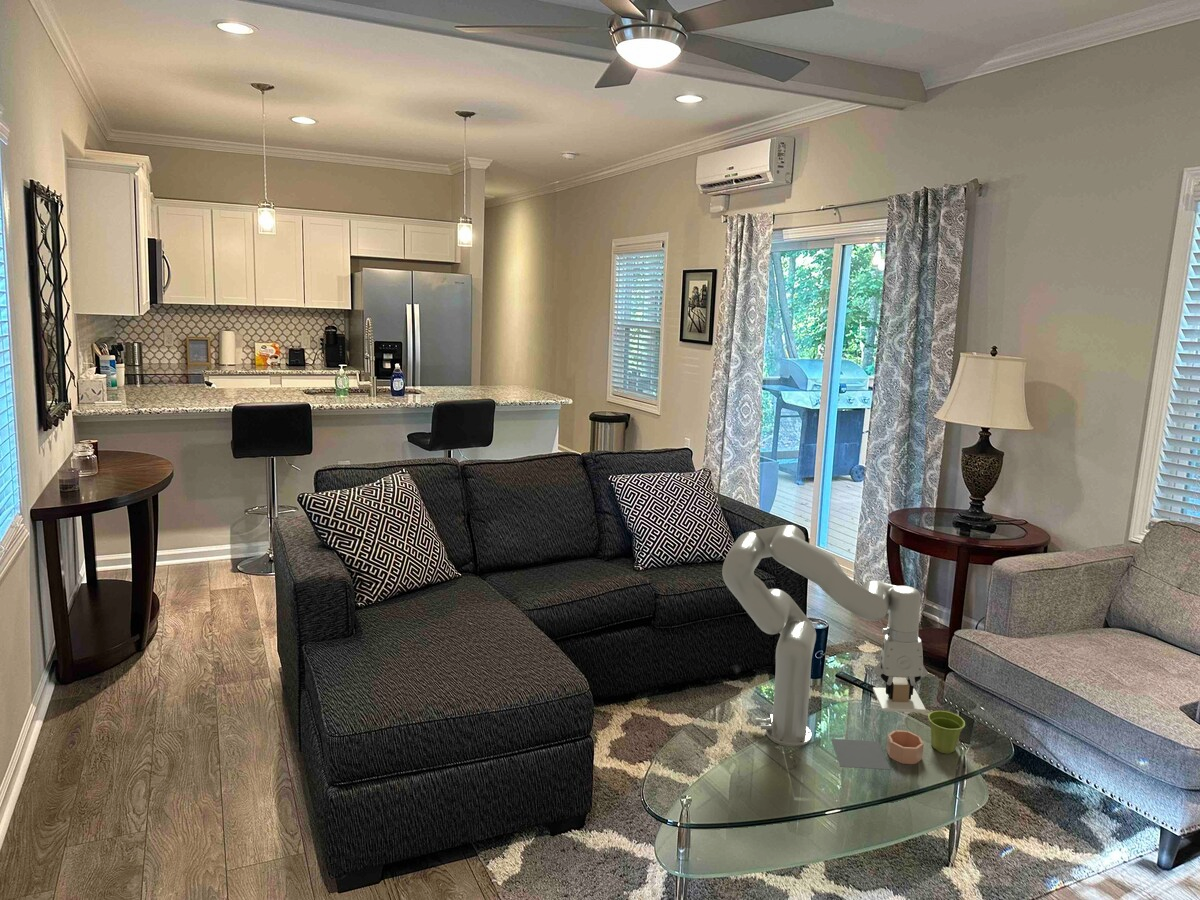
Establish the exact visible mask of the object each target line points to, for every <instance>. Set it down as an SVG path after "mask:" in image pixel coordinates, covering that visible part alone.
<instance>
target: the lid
mask: <svg viewBox="0 0 1200 900" xmlns="http://www.w3.org/2000/svg"><path fill="white" fill-rule="evenodd" d="M907 680H908V678H907V677H893V681H892V685H893V698H892V699H890V698H889V696H888V694H886V687H872V692H873V694H874V696H875V698H876V700H877V702H878V705H879V706H880V709H881V711H882V712H903V713H905V712H906V713H907V712H908V713H909V712H910V713H926V712H927V709H926V707H925V705H924V704H923V701H922V700H921V698H920V696H919V694H918V692H917V691H916V689H915V688H914V687H913V695H911V700H909V687H910V685H909V683H908V681H907Z"/></svg>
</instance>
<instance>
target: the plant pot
mask: <svg viewBox="0 0 1200 900" xmlns="http://www.w3.org/2000/svg"><path fill="white" fill-rule="evenodd" d="M927 718H928V721H929V724H930V740H931V741H930V743H931V744H930V745H931V747H932V748H933V749H934V750H936V751H938V752H939V753H942V754H947V755H948V754H951V753H954V752H955V751H956V749H957V745H958V741H959V738H960V735H961V733H962V731H963V729H964V728H965V726H966V721H965V720H964V719H963V718H962V717H961V716H960V715H958V714H956V713H953V712H950V711H946V710H934V711H932V712H929V713H928V715H927Z"/></svg>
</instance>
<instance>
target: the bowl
mask: <svg viewBox="0 0 1200 900" xmlns="http://www.w3.org/2000/svg"><path fill="white" fill-rule="evenodd" d="M924 744H925V743H924V741H923V740H922V737H921V736H920V735H918V734H915V733H914V732H911V731H909V730H902V729H901V730H897V729H894V730H893V731H891V732H889V733H887V740H886V748H885V750H886V753H887V755H888V756H889V757H888V758H891V760H894V761H897V762H898V763H901V764H907V765H916V764H918V763H919V762H921V760H923V753H924Z"/></svg>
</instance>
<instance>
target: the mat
mask: <svg viewBox="0 0 1200 900" xmlns="http://www.w3.org/2000/svg"><path fill="white" fill-rule="evenodd" d="M830 740H831V743H832V746H833V749H834V752H835V755H836V758H837V761H838V764H839V767H841V768H856V769H858V768H859V769H873V770H874V769H876V770H889V771H890V770H891V768H890V765H889V763H888V761H887V759H886V756H885V754H884V751H883V750H882V749H883V748H882V747H881V744H880V742H879V741H875V740H859V739H858V740H857V739H841V738H840V739H839V738H830Z"/></svg>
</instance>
